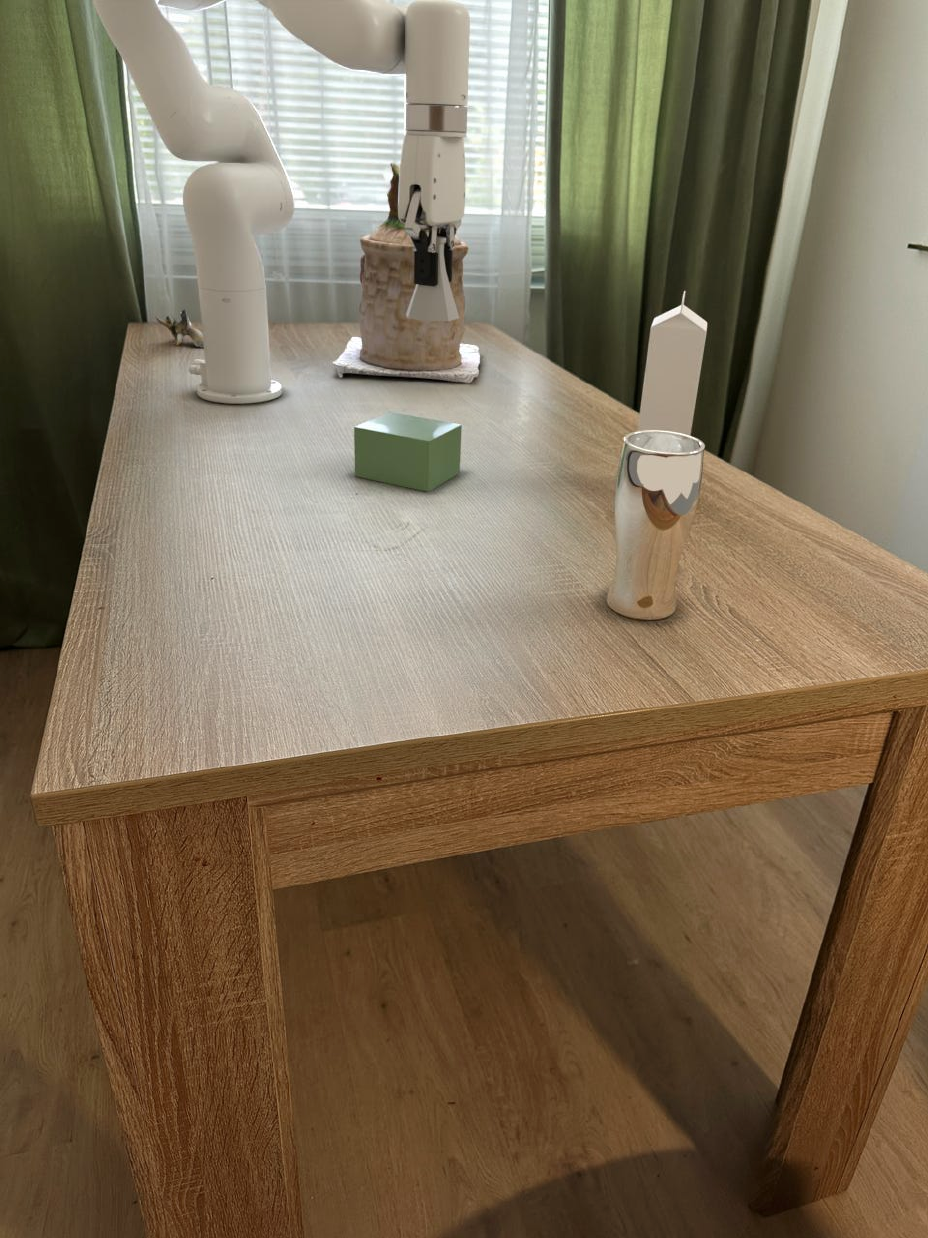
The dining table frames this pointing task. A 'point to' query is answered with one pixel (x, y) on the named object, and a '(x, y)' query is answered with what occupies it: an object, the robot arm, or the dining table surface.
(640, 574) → the beer glass
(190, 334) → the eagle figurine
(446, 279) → the flask
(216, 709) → the dining table surface
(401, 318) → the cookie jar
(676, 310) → the milk
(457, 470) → the green block
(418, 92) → the robot arm
